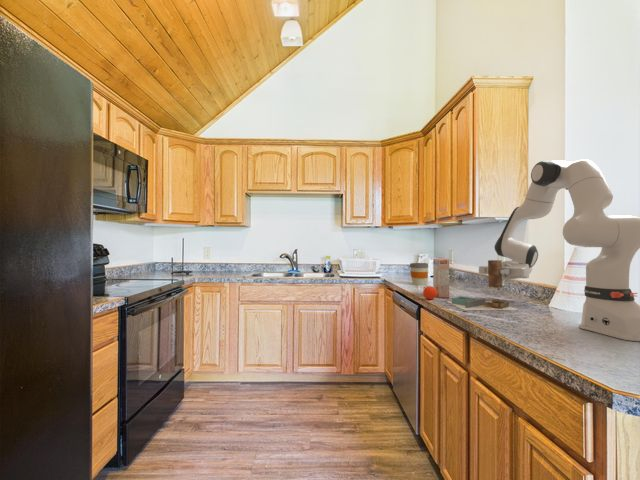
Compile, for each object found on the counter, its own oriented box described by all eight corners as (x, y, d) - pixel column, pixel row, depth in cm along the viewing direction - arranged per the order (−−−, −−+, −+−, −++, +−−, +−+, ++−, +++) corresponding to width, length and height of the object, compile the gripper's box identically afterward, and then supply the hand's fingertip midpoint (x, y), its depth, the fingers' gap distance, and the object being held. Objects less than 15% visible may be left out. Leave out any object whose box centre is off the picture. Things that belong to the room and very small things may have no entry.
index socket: (476, 303, 150) (475, 298, 150) (466, 305, 145) (466, 300, 145) (460, 301, 156) (460, 296, 156) (451, 303, 151) (451, 298, 152)
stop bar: (502, 287, 143) (501, 260, 143) (497, 287, 140) (497, 260, 141) (493, 286, 146) (492, 260, 146) (488, 286, 144) (488, 260, 144)
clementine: (418, 298, 170) (418, 285, 170) (427, 297, 173) (427, 284, 173) (431, 301, 163) (431, 287, 163) (439, 299, 167) (439, 286, 167)
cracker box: (449, 298, 171) (449, 259, 171) (438, 298, 172) (437, 259, 172) (443, 294, 184) (443, 258, 185) (433, 294, 185) (432, 258, 186)
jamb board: (518, 311, 136) (518, 303, 136) (464, 312, 137) (464, 304, 137) (493, 303, 156) (492, 296, 156) (446, 303, 157) (446, 296, 157)
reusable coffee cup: (407, 284, 227) (407, 263, 227) (414, 282, 237) (414, 262, 237) (424, 286, 219) (424, 264, 219) (431, 284, 229) (430, 263, 229)
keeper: (508, 306, 142) (508, 302, 142) (500, 308, 138) (500, 304, 138) (492, 304, 148) (492, 300, 148) (484, 306, 144) (484, 301, 144)
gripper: (486, 262, 159) (471, 263, 151) (532, 264, 142) (518, 265, 135) (487, 275, 159) (471, 276, 151) (532, 278, 142) (518, 280, 134)
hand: (494, 271), depth 143 cm, fingers closed on stop bar, 4 cm apart
